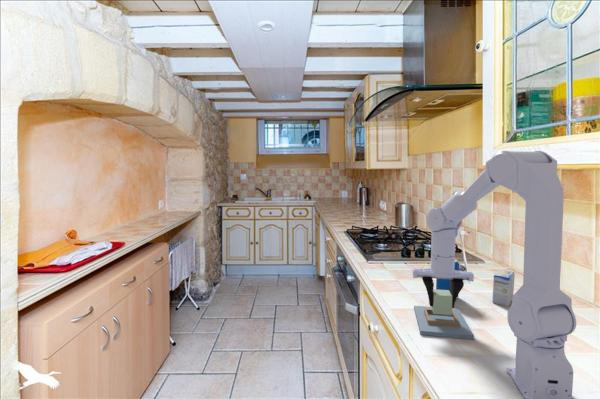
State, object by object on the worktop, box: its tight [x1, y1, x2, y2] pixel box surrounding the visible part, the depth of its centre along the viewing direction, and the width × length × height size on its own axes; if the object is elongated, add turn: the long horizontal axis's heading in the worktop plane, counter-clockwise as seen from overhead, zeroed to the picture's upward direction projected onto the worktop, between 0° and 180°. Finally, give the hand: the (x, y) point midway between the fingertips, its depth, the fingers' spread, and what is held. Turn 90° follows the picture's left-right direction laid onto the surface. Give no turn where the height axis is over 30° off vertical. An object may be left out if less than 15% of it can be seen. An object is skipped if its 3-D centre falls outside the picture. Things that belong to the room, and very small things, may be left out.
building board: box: [413, 305, 475, 341], centre depth 90 cm, size 16×12×2 cm
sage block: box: [430, 288, 452, 315], centre depth 90 cm, size 4×4×5 cm
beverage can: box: [435, 258, 460, 298], centre depth 108 cm, size 6×6×12 cm
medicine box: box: [492, 269, 515, 307], centre depth 105 cm, size 8×4×9 cm, turn 141°
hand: (441, 305), depth 90 cm, fingers closed on sage block, 4 cm apart
